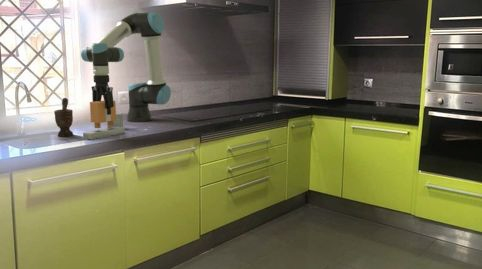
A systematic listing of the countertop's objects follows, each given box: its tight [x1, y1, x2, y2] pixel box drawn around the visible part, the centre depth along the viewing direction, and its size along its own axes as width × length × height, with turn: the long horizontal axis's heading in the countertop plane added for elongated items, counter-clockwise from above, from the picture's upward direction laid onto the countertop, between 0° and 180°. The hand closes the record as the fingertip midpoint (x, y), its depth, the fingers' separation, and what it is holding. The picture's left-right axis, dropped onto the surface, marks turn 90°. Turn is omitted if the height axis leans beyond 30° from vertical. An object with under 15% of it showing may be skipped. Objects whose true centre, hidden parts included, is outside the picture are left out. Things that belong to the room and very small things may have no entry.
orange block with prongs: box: [89, 100, 117, 129], centre depth 223 cm, size 11×6×13 cm, turn 146°
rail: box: [82, 126, 126, 140], centre depth 225 cm, size 22×5×3 cm, turn 146°
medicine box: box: [106, 112, 124, 128], centre depth 245 cm, size 8×4×9 cm, turn 92°
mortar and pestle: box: [54, 97, 74, 137], centre depth 224 cm, size 12×9×20 cm
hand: (103, 120), depth 224 cm, fingers closed on orange block with prongs, 6 cm apart
